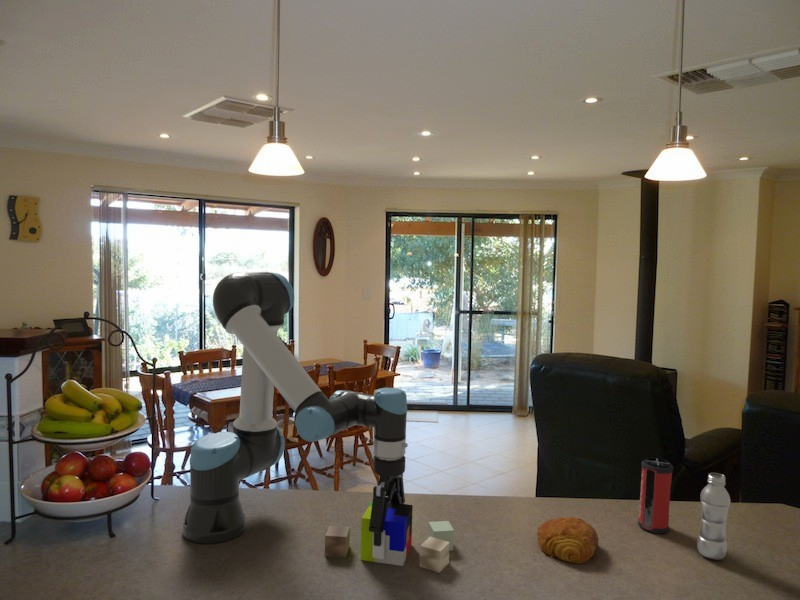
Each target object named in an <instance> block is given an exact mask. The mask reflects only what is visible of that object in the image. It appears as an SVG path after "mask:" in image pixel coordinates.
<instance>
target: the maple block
mask: <svg viewBox="0 0 800 600" xmlns="http://www.w3.org/2000/svg"><path fill="white" fill-rule="evenodd" d="M449 545H450V542H447V541H444V540H440V539H437V538H433V537H429V538H428V537H427V539H426V540H424V541H423V542H422V544H420V545H419V567H420V568H422V569H423V568H424V569H426V570H429V571H433V572H436V573H439V574H440V573H441V572H442V571H443V569H445V568H446V567H447V566H448V565H449V563H450V561H449V560H450V550H449Z"/></svg>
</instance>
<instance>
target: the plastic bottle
mask: <svg viewBox="0 0 800 600" xmlns="http://www.w3.org/2000/svg"><path fill="white" fill-rule="evenodd" d="M726 484H727V483H726V476H725V475H724V474H721V473H718V472H710V473H708V475H707V485H705V487H703V489H702V490H701V492H700V506H701V510H700V511H701V515H700V516H701V518H700V519H701V520H700V527H699V533H698V535H697V539H696V549H697V551H698V552H699V554H700V555H701V556H703V557H705V558H707V559H710V560H716V561H717V560H718V561H719V560H723V559H724V557H726V555H727V552H728V544H727V539H726V538H727V531H726V527H727V519H728V513H729V510H730V506H731V501H732V500H731V497H730V494H729V492H728V491H727V489H726V488H725V486H726Z"/></svg>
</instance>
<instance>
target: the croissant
mask: <svg viewBox="0 0 800 600" xmlns="http://www.w3.org/2000/svg"><path fill="white" fill-rule="evenodd" d="M536 535H537V541H538V542H537V543H538V547H539V548H540V549H541V550H542V552H544V554H546V555H547V556H548V555H549V556H550V557H551V556H552V558H556V557H557V559H559V560H562V561H565V562H569V563H573V564H584V563H586V562H588V561H589V560H590V559H591V558H592V557H594V555H595V552H596V549H597V546H599V536H598V533H597V531H596V529H595V527H593V526H592V525H591V524H590V523H588V522H586V521H585V520H584V519H582V518H579V517H576V516H575V517H573V516H572V517H571V516H570V517H569V516H566V517H557V518H551V519H549V520H546V521H544V522H543V523H541V524H540V525H539V526H538V528H537V533H536Z"/></svg>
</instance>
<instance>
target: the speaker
mask: <svg viewBox="0 0 800 600" xmlns="http://www.w3.org/2000/svg"><path fill="white" fill-rule="evenodd" d="M674 469H675V468H674V466H673V465H672V463H671V462H670V461H668V460H667V459H663V458H657V457H647V458H645V459H644V460H642V461H641V479H640V496H639V508H638V509H639V513H638V519H637V525H638V526H639V527H640V528H641V529H642V530H644V531H647V532H650V533H652V534H665V533H668V532H669V531H670V526H669V524H670V523H669V522H670V502H671V500H670V499H671V490H672V489H671V488H672V486H671V485H672V479H673V472H674V471H673V470H674Z"/></svg>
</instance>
